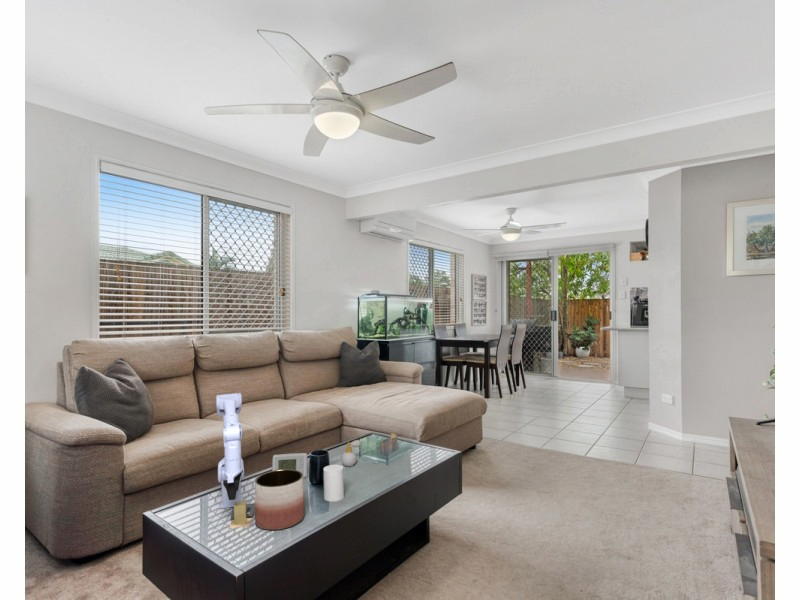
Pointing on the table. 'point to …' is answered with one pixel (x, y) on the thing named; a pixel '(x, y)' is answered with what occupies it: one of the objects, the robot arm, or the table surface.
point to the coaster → (240, 525)
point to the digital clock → (291, 462)
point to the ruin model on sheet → (389, 445)
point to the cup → (333, 483)
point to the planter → (279, 499)
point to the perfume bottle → (350, 454)
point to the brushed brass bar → (240, 512)
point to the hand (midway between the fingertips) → (233, 495)
